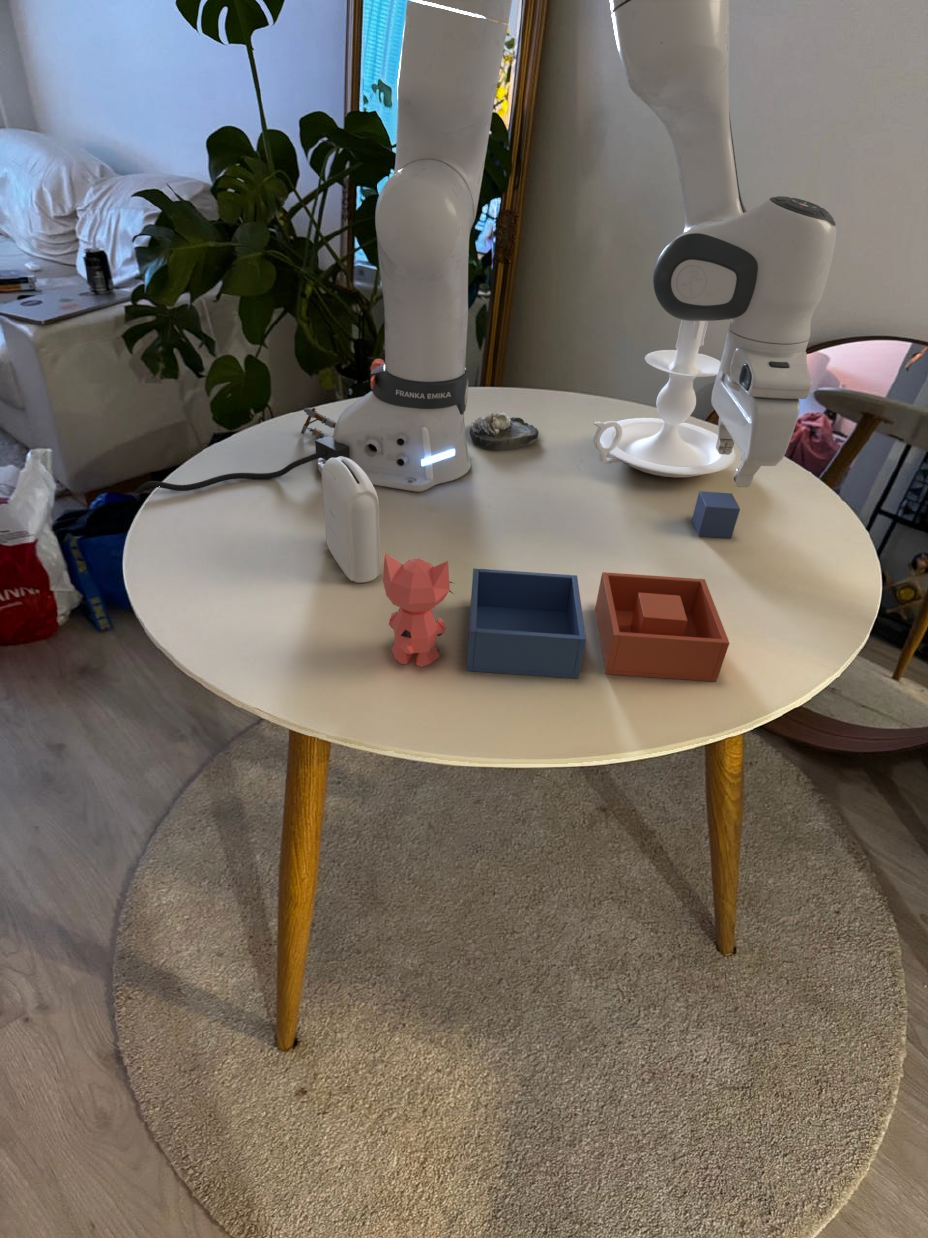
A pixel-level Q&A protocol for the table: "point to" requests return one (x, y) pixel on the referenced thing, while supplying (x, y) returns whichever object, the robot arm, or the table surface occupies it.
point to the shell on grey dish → (502, 432)
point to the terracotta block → (659, 615)
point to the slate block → (715, 514)
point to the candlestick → (669, 418)
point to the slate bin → (525, 624)
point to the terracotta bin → (659, 653)
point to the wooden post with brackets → (319, 417)
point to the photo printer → (351, 519)
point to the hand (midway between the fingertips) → (731, 467)
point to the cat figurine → (415, 607)
